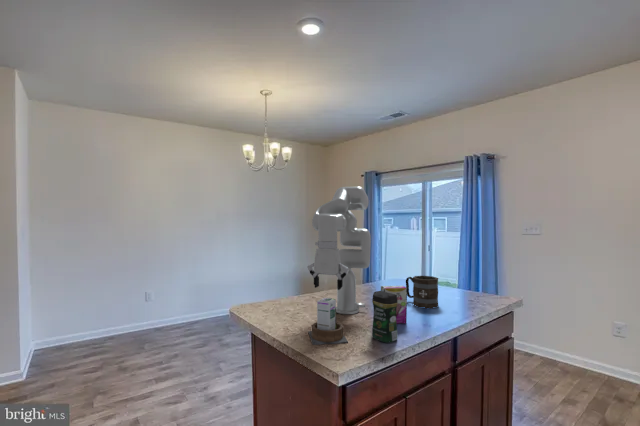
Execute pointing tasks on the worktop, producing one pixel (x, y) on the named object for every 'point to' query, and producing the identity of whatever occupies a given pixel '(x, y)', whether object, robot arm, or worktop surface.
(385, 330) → the coffee jar
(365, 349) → the worktop surface
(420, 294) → the mug
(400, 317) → the candy bar box
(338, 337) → the collar
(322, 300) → the syrup box
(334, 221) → the robot arm
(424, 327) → the worktop surface
